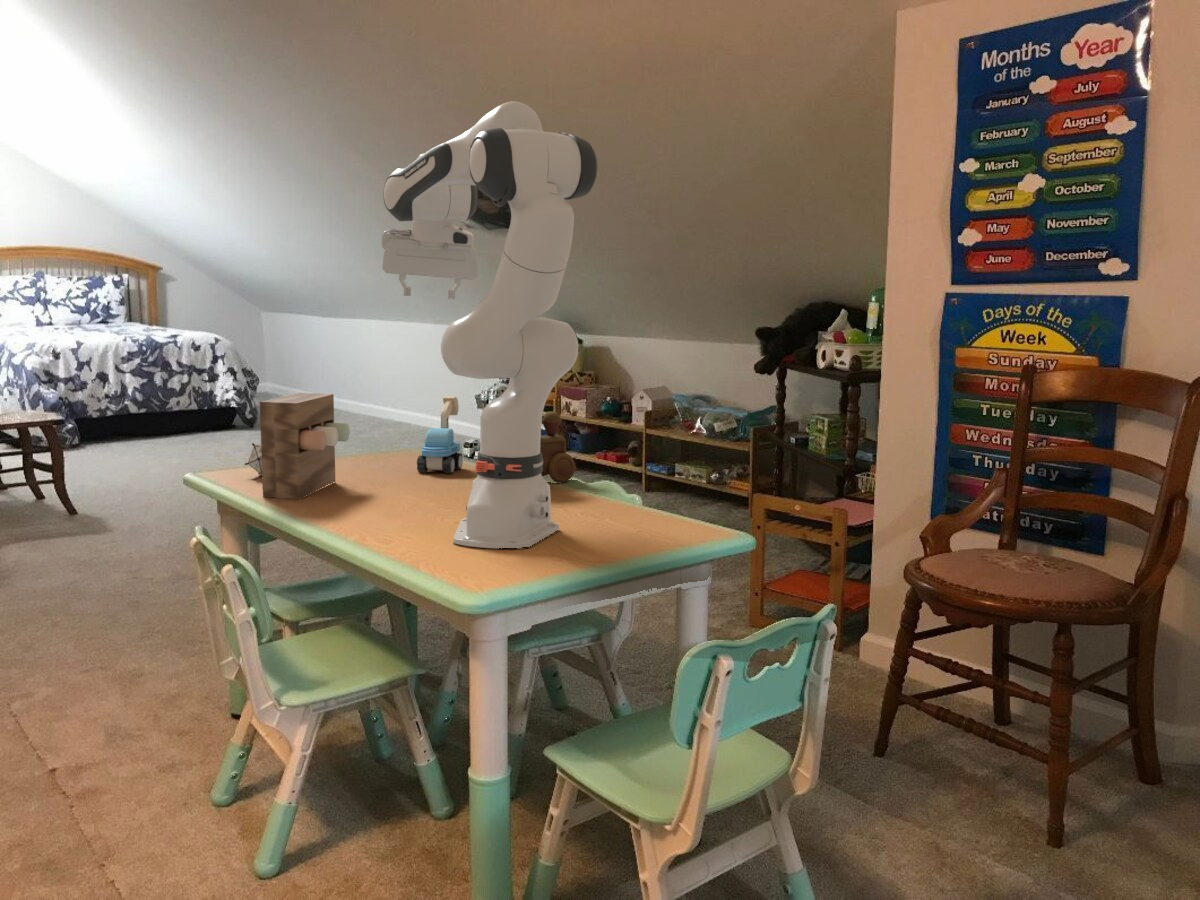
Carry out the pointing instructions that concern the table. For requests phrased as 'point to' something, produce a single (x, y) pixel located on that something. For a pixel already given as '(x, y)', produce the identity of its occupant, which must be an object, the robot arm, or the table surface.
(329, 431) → the cream button
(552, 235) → the robot arm
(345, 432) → the sage button
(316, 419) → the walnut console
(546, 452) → the wooden toy train
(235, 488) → the table surface
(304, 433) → the terracotta button
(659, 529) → the table surface
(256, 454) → the game die
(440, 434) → the toy excavator
